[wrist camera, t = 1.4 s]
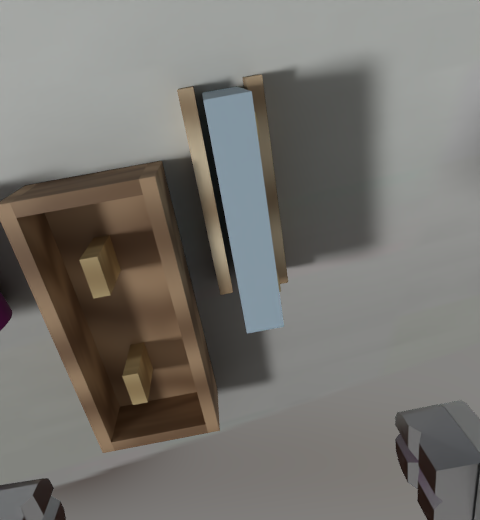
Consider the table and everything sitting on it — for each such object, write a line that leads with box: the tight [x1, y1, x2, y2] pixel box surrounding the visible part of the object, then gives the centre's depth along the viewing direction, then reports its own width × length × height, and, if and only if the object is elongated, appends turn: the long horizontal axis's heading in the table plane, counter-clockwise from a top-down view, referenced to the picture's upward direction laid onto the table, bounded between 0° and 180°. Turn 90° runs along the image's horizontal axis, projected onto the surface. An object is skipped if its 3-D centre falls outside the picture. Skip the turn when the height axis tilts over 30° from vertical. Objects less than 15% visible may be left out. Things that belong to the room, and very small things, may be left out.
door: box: [202, 86, 284, 333], centre depth 27 cm, size 14×3×9 cm, turn 9°
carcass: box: [0, 161, 220, 453], centre depth 32 cm, size 22×10×5 cm, turn 9°
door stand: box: [177, 75, 288, 295], centre depth 30 cm, size 15×5×2 cm, turn 9°
